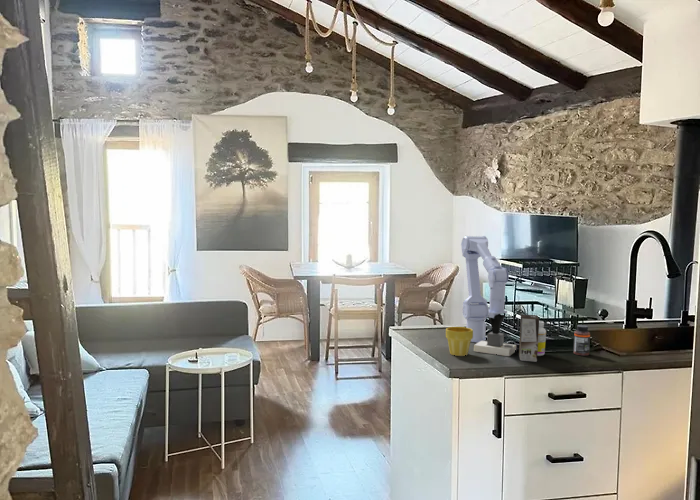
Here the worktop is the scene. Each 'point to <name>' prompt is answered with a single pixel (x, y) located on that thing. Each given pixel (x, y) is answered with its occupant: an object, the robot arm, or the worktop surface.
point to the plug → (495, 339)
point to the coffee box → (528, 338)
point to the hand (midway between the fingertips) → (495, 333)
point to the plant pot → (459, 340)
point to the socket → (495, 348)
